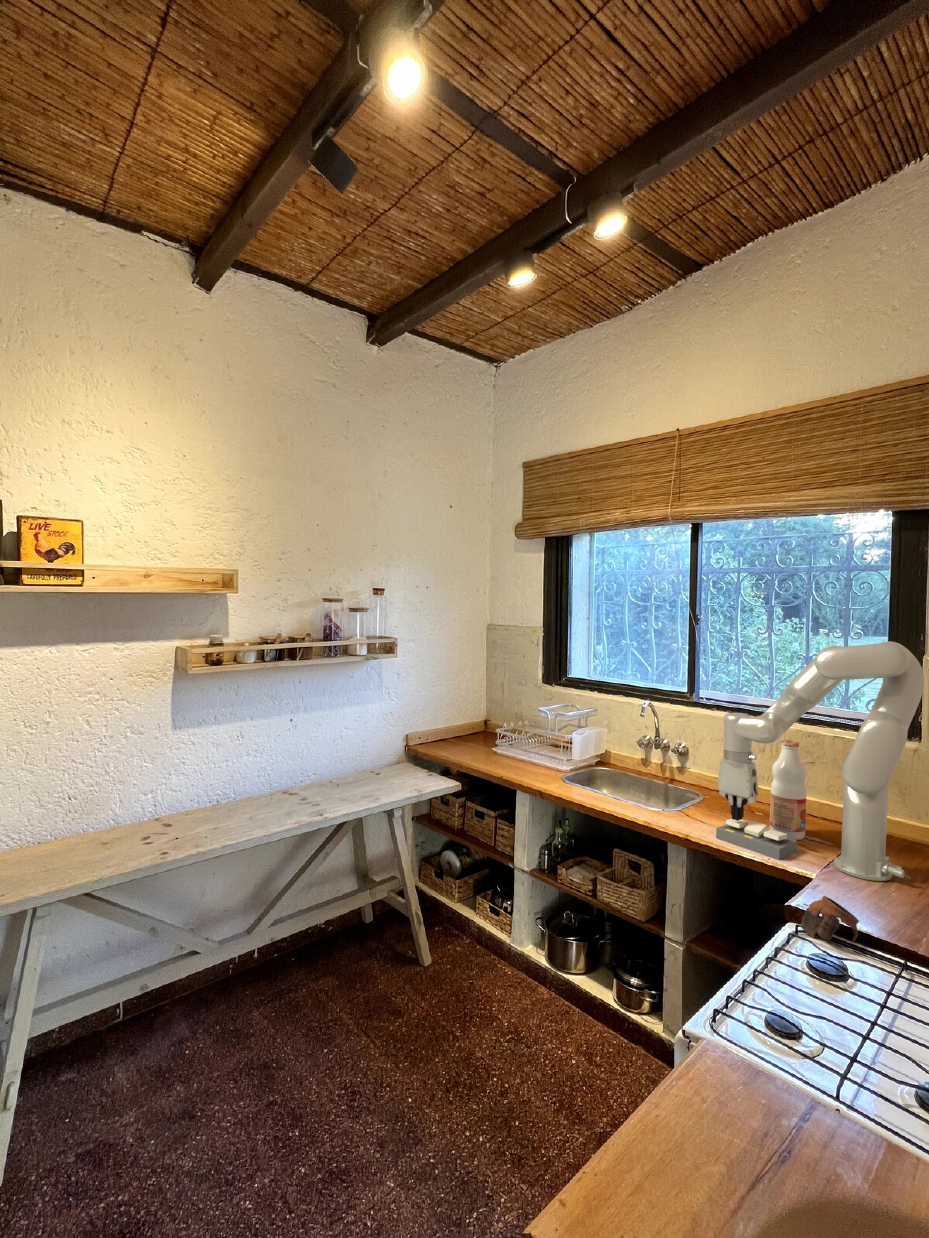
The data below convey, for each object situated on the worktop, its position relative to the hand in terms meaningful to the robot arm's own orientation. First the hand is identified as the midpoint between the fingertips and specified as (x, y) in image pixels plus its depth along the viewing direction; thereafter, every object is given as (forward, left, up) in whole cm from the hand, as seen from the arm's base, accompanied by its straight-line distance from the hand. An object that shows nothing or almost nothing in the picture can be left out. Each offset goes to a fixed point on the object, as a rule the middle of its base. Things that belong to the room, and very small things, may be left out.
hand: (737, 818), depth 173 cm
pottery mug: (-38, +34, -7) cm, 51 cm away
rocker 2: (-5, -1, -2) cm, 5 cm away
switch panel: (-5, -2, -6) cm, 8 cm away
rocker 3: (-10, -1, -2) cm, 10 cm away
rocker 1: (+1, -1, -2) cm, 2 cm away
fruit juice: (-6, -17, -6) cm, 20 cm away
